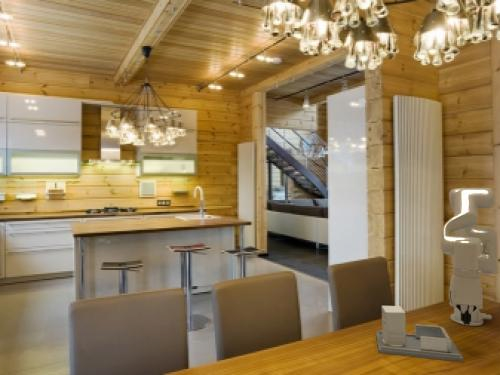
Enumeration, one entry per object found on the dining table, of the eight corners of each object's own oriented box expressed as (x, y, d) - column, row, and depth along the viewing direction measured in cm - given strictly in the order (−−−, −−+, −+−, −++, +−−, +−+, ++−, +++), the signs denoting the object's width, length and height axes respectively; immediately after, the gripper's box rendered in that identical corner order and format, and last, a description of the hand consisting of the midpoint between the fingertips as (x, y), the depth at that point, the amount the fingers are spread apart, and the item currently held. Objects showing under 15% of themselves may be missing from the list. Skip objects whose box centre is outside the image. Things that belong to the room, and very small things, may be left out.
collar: (442, 339, 141) (442, 326, 141) (451, 353, 129) (451, 340, 129) (415, 336, 144) (415, 324, 143) (420, 350, 132) (420, 337, 132)
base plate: (451, 342, 142) (451, 337, 142) (463, 362, 126) (463, 356, 126) (376, 334, 149) (376, 330, 149) (378, 352, 134) (378, 347, 134)
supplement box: (400, 337, 143) (400, 305, 143) (406, 345, 136) (405, 312, 136) (381, 336, 144) (381, 305, 144) (385, 344, 137) (385, 311, 137)
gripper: (485, 272, 134) (485, 321, 134) (440, 270, 138) (441, 317, 138) (492, 277, 127) (493, 329, 127) (445, 274, 131) (445, 325, 131)
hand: (465, 323), depth 132 cm, fingers closed
